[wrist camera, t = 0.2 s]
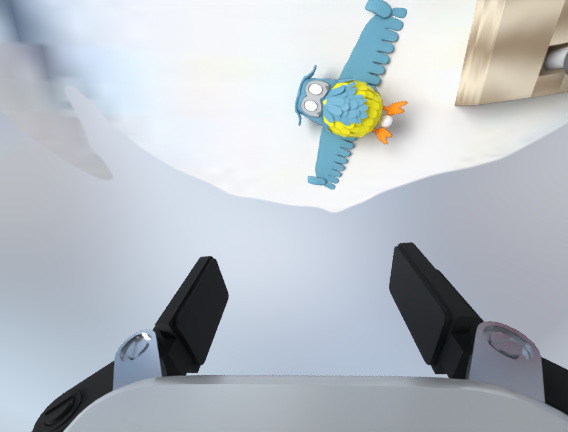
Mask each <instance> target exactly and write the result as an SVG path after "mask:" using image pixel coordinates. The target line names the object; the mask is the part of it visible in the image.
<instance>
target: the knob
mask: <svg viewBox="0 0 568 432" xmlns="http://www.w3.org/2000/svg"><path fill="white" fill-rule="evenodd" d="M544 68H545V69H546V70H555V69H561V68H564V71H565V73H566V74H567V75H568V47H565V48H561V49H557V50H554V51H553V52H551V53H550V54H549V55H548V56H547V58H546V59H545V62H544Z"/></svg>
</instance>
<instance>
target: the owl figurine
mask: <svg viewBox="0 0 568 432" xmlns="http://www.w3.org/2000/svg"><path fill="white" fill-rule="evenodd" d="M365 9H366V10H369V11H372V12H374V13H376V14H377V15H375V16H374V17H373V18H372V19H371V20H370V21H369V22H368V23H367V24H366V26H365V28H364V29H363V31H362V33H361V35H360V37H359V40H358V42H357V44H356V46H355V47H354V49H353V51H352V53H351V55H350V58H349V60H348V62H347V63H346V65H345V67H344V68H343V70H342V73H341V75H340V78H339V80H336V79H316V78H311V77H312V76H313V75H314V72H315V70H316V67H317V66H316V65H315V66H314V69H313V71H312V72H311V73H309V74H308V75H307V76H305V77H304V78H303V80H302V81H301V84H300V87H299V90H298V94H297V98H296V103H295V112H296V113H297V115H298V117H299V126H300V124H301V115H300V114H302V115H304V116H305V117H307V118H309V119H310V120H312V121H314V122H316V123H318V124H319V125H322V126H323V129H322V132H321V136H320V143H319V149H318V156H317V161H316V167H315V172H316V176H317V177H312V176H308V183H311V184H316V185H325V187H328V188H329V189H335V185H333V184H331V183H335V184H336V183H338V179H337V178H335V177H340V176H341V173H340V172H338V171H336V170H339V171H342V170H344V166H343V165H341V164H338V163H342V164H345V163H346V162H347V159H346V158H344V157H341V156H345V157H348V156H349V155H350V152H349V151H348V150H346V149H343V148H347V149H352V148H353V143H351V142H348V141H355V140H356V139H357V137H359V138H360V137H362V136H364V135H366V134H368V133H370V132H371V131H372V132H377V133H376V135H377V137H378V139H379V140H380V141H381V142H383V143H384V144H387V140H386V137H392V134H391V133H390V132H388V131H387V130H386V129H385V128H387V127H389V126H391V125H392V122H393V119H392V117H391V116H390V115H394V114H400V113H403V112H404V110H403V109H401V108H400V107H402V106H404V105H406V104H407V103H408V102H406V101H401V102H397V103H394V104H392V105H390V106H389V107H385V106H383V103H382V100H381V98H380V97H381V95H379V93H378V92H376V88H375V87H374V86H371V85H369V84H373V85H378V84H379V83H380V78H379V77H378V76H375V75H372V74H370V73H374V74H379V75H381V74H383V73H384V71H385V68H384V67H383V66H381V65H379V64H376V63H381V64H386V63H388V61H389V56H388V55H386V54H383V53H380V52H385V53H391V52H392V51H393V49H394V46H393V45H392V44H391V43H388V42H385V41H383V40H386V41H391V42H394V41H396V40H397V39H398V34H397V33H396V32H394V31H391V30H388V29H392V30H400V29H401V28H402V27H403V22H402V21H401V20H398V19H396V18H394V17H392V16H390V15H393V16H395V17H399V18H404V17H405V16H406V14H407V10H406V9H405V8H393V9H391V7H390V6H389V5H388V4H387V3H386V2H384V1H382V0H369V1H368V2H367V4H366V6H365ZM386 28H387V29H386ZM378 51H380V52H378ZM374 62H376V63H374ZM367 83H369V84H367ZM379 96H380V97H379ZM382 109H383V110H386V111H387V112H386V115H385V116H383V117H382V118H381V115H382ZM380 118H381V120H380ZM379 120H380V125H381V127H380V128H379V129H378V130H377V129H374V128H375V127H376V125H377V124H378V122H379ZM382 127H383V128H382ZM345 140H348V141H345ZM341 147H343V148H341ZM339 155H341V156H339ZM336 162H338V163H336ZM333 169H335V170H333ZM332 176H334V177H332ZM327 182H330V183H327Z"/></svg>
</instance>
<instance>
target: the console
mask: <svg viewBox="0 0 568 432" xmlns="http://www.w3.org/2000/svg"><path fill="white" fill-rule="evenodd" d="M565 47H568V0H477V4H476V9H475V13H474V18H473V23H472V27H471V32H470V37H469V41H468V46H467V51H466V55H465V60H464V65H463V69H462V74H461V79H460V83H459V88H458V93H457V97H456V102H455V105H481V104H488V103H495V102H502V101H509V100H515V99H522V98H529V97H536V96H543V95H550V94H557V93H564V92H568V75H567V74H566V73H565V71H564V68H561V69H555V70H546V69H545V68H544V62H545V59H546V58H547V56H548V55H549V54H550V53H551V52H553V51H554V50H557V49H561V48H565Z"/></svg>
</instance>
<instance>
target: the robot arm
mask: <svg viewBox="0 0 568 432" xmlns="http://www.w3.org/2000/svg"><path fill="white" fill-rule="evenodd" d="M389 289H390V293H391V295H392V297H393V299H394V301H395V303H396V305H397V307H398V309H399V311H400V313H401V315H402V317H403V319H404V321H405V323H406V325H407V327H408V329H409V331H410V333H411V335H412V337H413V339H414V341H415V343H416V345H417V347H418V349H419V351H420V353H421V355H422V357H423V359H424V361H425V362H426V364H428V365H431V366H432V369H433V370H434V372H435V374H447V375H448V377H449V378H436V377H434V378H433V377H403V376H313V375H312V376H309V375H300V376H299V375H196V376H194V375H193V376H186V373H198V371H199V368H200V366H201V365H203V364H204V362H205V360H206V357H207V354H208V352H209V349H210V346H211V344H212V341H213V339H214V336H215V333H216V330H217V328H218V325H219V322H220V320H221V317H222V314H223V312H224V309H225V306H226V303H227V301H228V296H229V295H228V291H227V288H226V285H225V283H224V280H223V277H222V275H221V272H220V270H219V266H218V263H217V261H216V259H213V257H212V256H208V257H207V256H206V257H200V258H199V260H198V262H197V263H196V264H195V266H194V267H193V269H192V270H191V272H190V273H189V275H188V276H187V278H186V279H185V281H184V282H183V284H182V285H181V287H180V288H179V290H178V291H177V293H176V294H175V295H174V297H173V299H172V300H171V301H170V303H169V305H168V306H167V307H166V309H165V311H164V312H163V313H162V315H161V316H160V318H159V320H158V321H157V323H156V324H155V325H156V326H155V327H154V329H153V330H148V329H146V330H142V331H139V332H137V333H135V334H134V335H132V336H131V337H129V338H128V339H127V340H126V341H125V342H124V343H123V344H122V345H121V346H120V347H119V349H118V351H117V352H116V355H115V360H114V361H113V362H111V363H110V364H108V365H107V366H105V367H104V368H102V369H100V370H99V371H97V372H96V373H94V374H93V375H91V376H90V377H88V378H87V379H85V380H84V381H82V382H80V383H79V384H77V385H76V386H74V387H73V388H71V389H70V390H68V391H67V392H65V393H63V394H62V395H61V396H59V397H58V398H57V399H55V400H54V401H53V402H52V403H51V404H50V405H49V406H48V407H47V408H46V409H45V411H44V412H43V413H42V414H41V415H40V417H39V419H38V420H37V422H36V423H35V426H34V429H33V431H32V432H568V370H567V369H565V368H563V367H561V366H559V365H557V364H555V363H553V362H550V361H549V360H546V359H544V358H542V357H541V355H540V352H539V350H538V349H537V347H536V346H535V344H534V343H533V342H532V341H531V340H529V339H528V338H527V337H526V336H525V335H523V334H522V333H520V332H519V331H517V330H516V329H514V328H511V327H509V326H507V325H504V324H501V323H498V322H491V321H488V322H484V321H483V320H482V319H481V318H480V317H479V315H478V314H477V313H476V312H475V311H474V310H473V309H472V307H471V306H470V305H469V304H468V303H467V302H466V301H465V300H464V298H463V297H462V296H461V295H460V294H459V293H458V291H457V290H456V289H455V288H454V287H453V286H452V285H451V283H450V282H449V281H448V280H447V279H446V278H445V277H444V275H443V274H442V273H441V272H440V271H439V270H437V269H435V268H434V267H433V265H432V264H431V263H430V262H429V261H428V260H427V258H426V257H425V256H424V255H423V254H422V253H421V251H420V250H419V249H418V248H417V247H416V246H415V245H414V244H413V243H400V244H399V245H398V246H397V247H395V248H394V255H393V263H392V270H391V277H390V284H389Z"/></svg>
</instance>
